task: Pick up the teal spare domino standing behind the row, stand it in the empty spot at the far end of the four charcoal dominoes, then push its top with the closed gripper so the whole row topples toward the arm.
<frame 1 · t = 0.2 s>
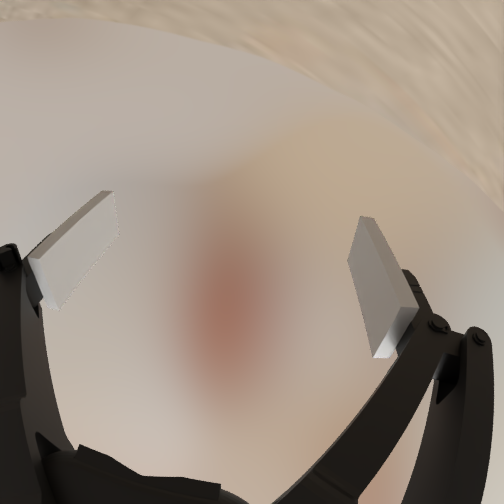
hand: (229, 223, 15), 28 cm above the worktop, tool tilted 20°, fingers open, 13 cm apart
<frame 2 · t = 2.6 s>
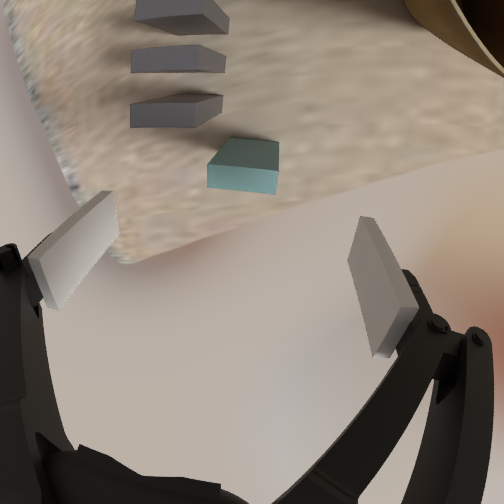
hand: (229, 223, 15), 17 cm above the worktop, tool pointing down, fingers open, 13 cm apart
domino 1: (253, 148, 29), on the worktop
domino 2: (198, 103, 27), on the worktop
plant pot: (434, 1, 16), on the worktop, touching arm
domino 3: (200, 64, 24), on the worktop
domino 4: (203, 26, 22), on the worktop
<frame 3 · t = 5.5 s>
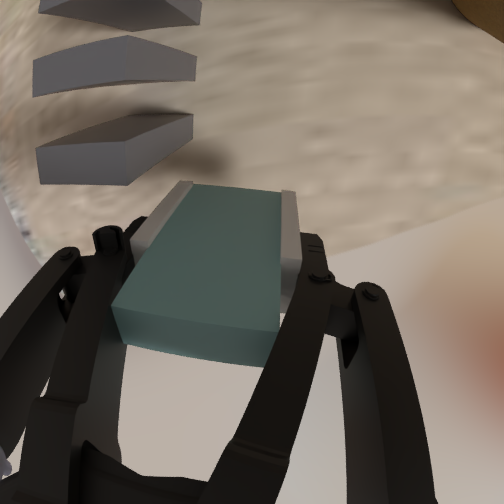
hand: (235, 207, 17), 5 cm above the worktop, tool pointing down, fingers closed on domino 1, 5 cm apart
domino 1: (236, 202, 17), point 4 cm above the worktop, touching gripper
domino 2: (159, 126, 19), on the worktop
domino 3: (161, 70, 17), on the worktop
domino 4: (165, 16, 14), on the worktop
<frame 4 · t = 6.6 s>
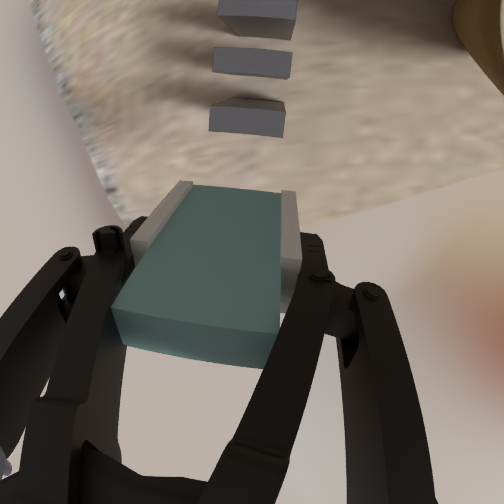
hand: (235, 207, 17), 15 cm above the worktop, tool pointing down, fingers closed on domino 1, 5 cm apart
domino 1: (236, 203, 17), point 14 cm above the worktop, touching gripper
domino 2: (257, 108, 26), on the worktop
plant pot: (479, 25, 16), point 1 cm above the worktop, touching arm
domino 3: (261, 68, 24), on the worktop
domino 4: (265, 29, 22), on the worktop
when the fingers open (1 cm above the worktop, at t = 9.4 s): domino 1 stays where it is, on the worktop.
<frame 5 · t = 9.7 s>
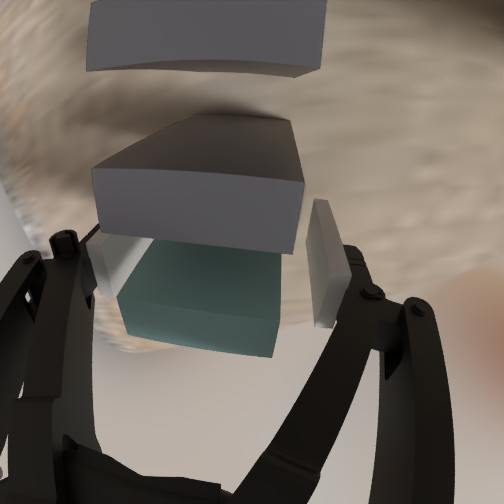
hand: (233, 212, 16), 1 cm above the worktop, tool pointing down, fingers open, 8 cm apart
domino 1: (237, 200, 17), on the worktop
domino 2: (241, 131, 15), on the worktop
domino 3: (247, 57, 13), on the worktop
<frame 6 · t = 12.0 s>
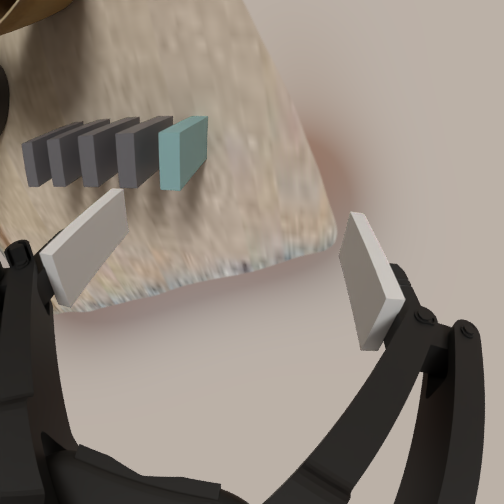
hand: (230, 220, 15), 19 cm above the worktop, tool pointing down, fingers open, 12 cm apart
domino 1: (199, 137, 31), on the worktop
domino 2: (165, 136, 31), on the worktop
domino 3: (133, 137, 31), on the worktop
domino 5: (79, 140, 31), on the worktop
domino 4: (104, 138, 31), on the worktop
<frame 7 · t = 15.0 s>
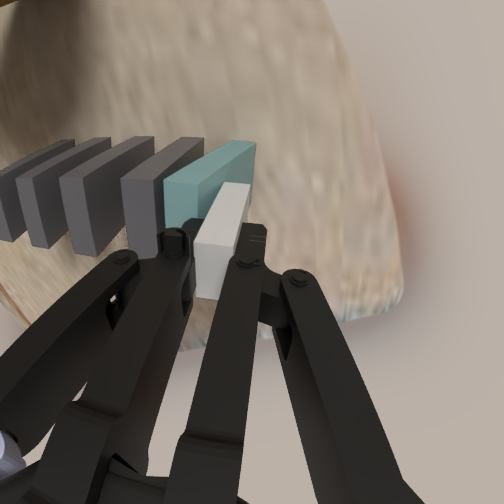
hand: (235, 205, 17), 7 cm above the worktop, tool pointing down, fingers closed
domino 1: (242, 172, 22), on the worktop, tilted 10°, touching gripper
domino 2: (192, 167, 23), on the worktop
domino 3: (145, 164, 23), on the worktop
domino 5: (70, 164, 23), on the worktop
domino 4: (104, 164, 23), on the worktop
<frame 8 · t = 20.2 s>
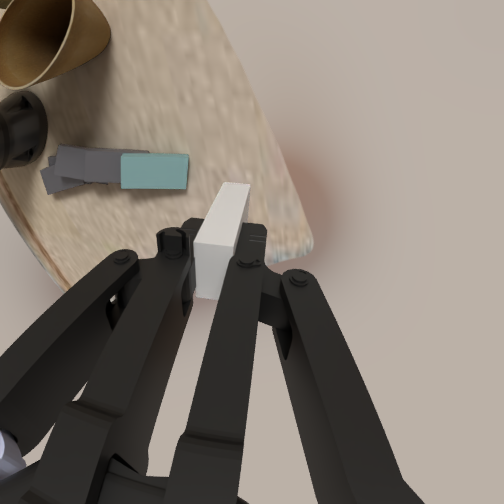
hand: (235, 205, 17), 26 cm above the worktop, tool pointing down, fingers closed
domino 1: (187, 171, 42), point 1 cm above the worktop, tilted 72°, touching domino 2
domino 2: (146, 167, 42), point 1 cm above the worktop, tilted 69°, touching domino 1
plant pot: (91, 37, 31), on the worktop, touching arm
domino 3: (111, 168, 42), point 1 cm above the worktop, tilted 70°, touching domino 4
domino 4: (82, 168, 42), point 2 cm above the worktop, tilted 90°, touching domino 3, domino 5
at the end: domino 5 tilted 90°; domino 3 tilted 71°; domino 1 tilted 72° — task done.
